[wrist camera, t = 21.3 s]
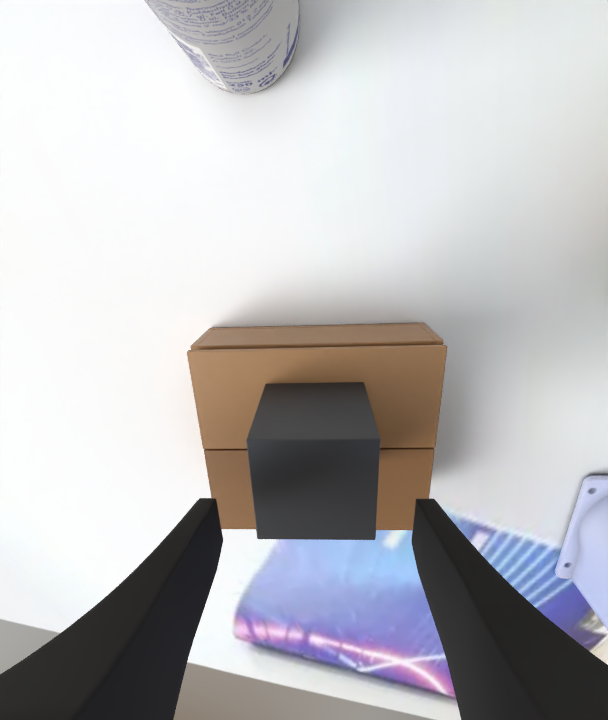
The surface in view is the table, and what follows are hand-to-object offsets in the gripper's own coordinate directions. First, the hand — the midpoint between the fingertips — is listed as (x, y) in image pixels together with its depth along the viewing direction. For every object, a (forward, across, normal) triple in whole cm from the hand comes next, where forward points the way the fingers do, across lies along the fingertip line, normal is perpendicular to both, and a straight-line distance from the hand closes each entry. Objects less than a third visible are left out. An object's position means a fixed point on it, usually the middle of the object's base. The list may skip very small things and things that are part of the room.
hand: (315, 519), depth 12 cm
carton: (+10, 0, +2) cm, 11 cm away
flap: (+7, 0, +5) cm, 8 cm away
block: (+6, 0, 0) cm, 6 cm away
